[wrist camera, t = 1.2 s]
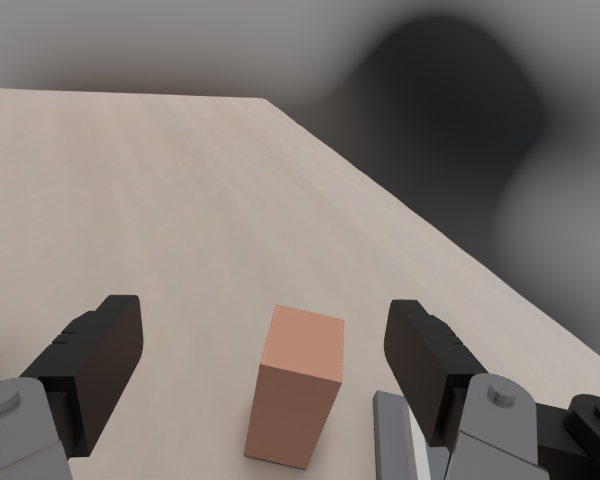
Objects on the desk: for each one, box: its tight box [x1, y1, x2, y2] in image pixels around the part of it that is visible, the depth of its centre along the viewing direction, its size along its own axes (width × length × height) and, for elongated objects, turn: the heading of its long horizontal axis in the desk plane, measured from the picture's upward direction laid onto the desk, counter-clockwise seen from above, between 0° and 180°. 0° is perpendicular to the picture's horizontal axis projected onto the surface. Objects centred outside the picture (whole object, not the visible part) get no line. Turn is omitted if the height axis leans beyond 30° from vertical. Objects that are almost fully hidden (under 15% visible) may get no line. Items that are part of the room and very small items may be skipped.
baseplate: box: [373, 390, 450, 480], centre depth 28 cm, size 14×12×3 cm
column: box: [244, 305, 344, 469], centre depth 26 cm, size 5×5×12 cm
